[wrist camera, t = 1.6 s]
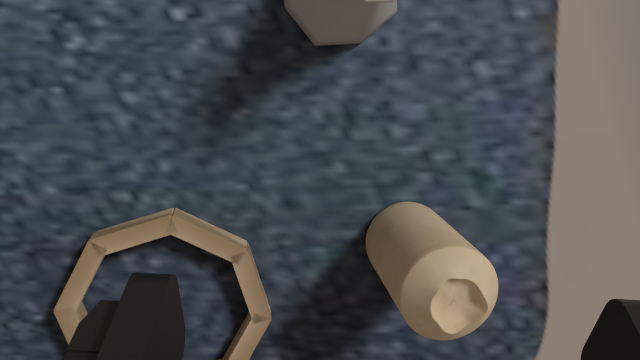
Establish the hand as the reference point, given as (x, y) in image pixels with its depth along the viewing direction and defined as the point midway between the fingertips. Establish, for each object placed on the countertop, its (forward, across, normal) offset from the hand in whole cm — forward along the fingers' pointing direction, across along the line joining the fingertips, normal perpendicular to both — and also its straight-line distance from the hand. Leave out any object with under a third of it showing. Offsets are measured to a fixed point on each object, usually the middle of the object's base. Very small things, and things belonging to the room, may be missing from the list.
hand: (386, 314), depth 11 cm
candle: (+21, -4, +18) cm, 28 cm away
